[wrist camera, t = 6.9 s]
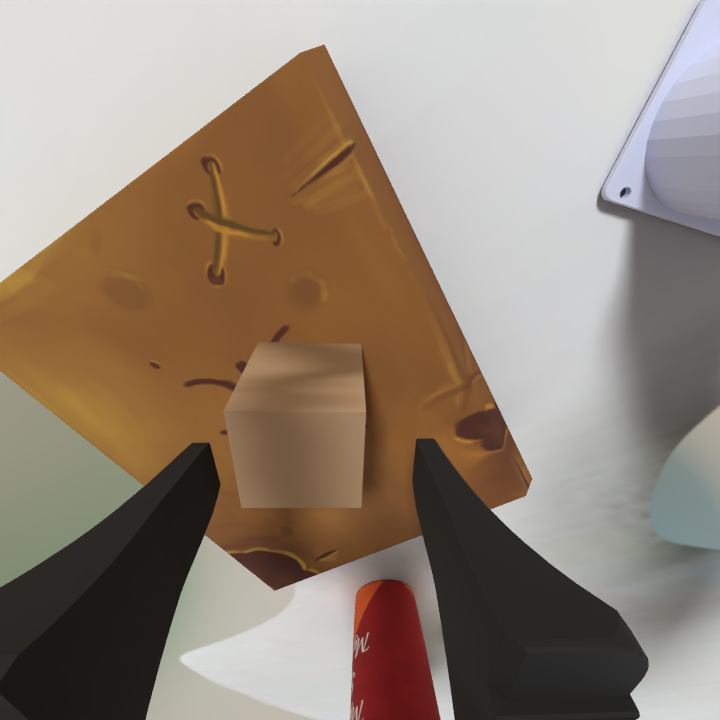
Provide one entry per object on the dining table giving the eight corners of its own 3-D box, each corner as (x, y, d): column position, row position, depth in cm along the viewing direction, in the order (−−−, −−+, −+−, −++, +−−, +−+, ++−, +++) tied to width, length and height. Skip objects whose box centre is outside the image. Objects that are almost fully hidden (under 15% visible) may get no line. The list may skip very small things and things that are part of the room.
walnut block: (361, 343, 16) (365, 412, 11) (358, 424, 18) (361, 507, 14) (258, 341, 16) (223, 410, 11) (267, 423, 18) (241, 508, 13)
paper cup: (331, 584, 33) (321, 833, 21) (411, 564, 32) (450, 815, 20) (361, 625, 37) (367, 857, 24) (434, 608, 35) (479, 844, 23)
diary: (501, 426, 26) (539, 491, 21) (287, 518, 30) (275, 591, 25) (330, 74, 16) (321, 33, 11) (43, 285, 20) (-61, 328, 15)
